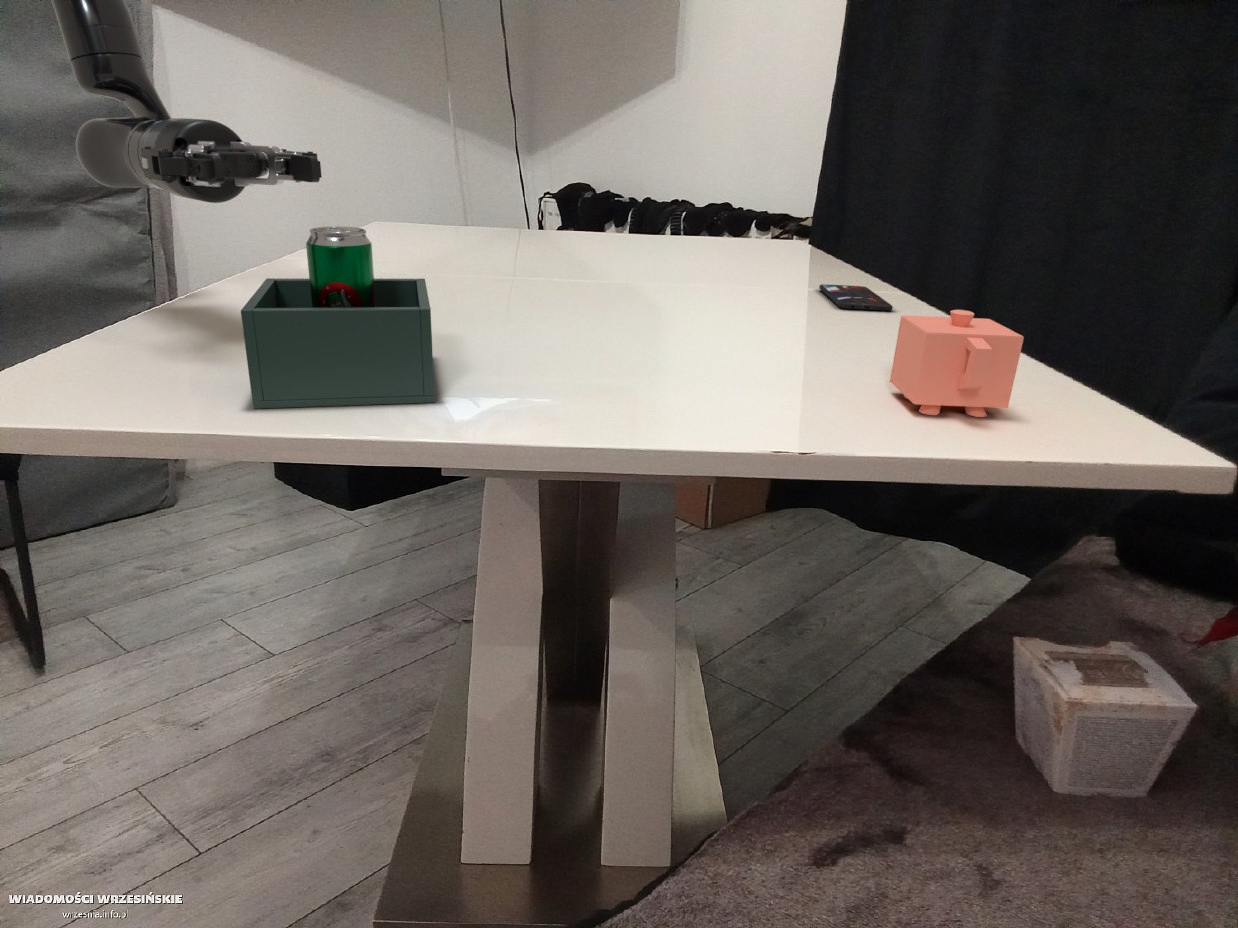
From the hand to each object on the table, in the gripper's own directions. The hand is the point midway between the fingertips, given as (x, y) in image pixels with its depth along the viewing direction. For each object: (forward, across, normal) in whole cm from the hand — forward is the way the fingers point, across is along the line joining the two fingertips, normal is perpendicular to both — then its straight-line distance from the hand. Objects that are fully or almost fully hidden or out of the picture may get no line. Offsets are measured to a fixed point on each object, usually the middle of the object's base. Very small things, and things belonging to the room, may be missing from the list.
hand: (269, 169), depth 72 cm
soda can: (+10, 0, +16) cm, 19 cm away
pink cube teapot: (+48, +36, +17) cm, 62 cm away
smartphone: (+18, +74, +16) cm, 78 cm away
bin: (+11, 0, +16) cm, 20 cm away
